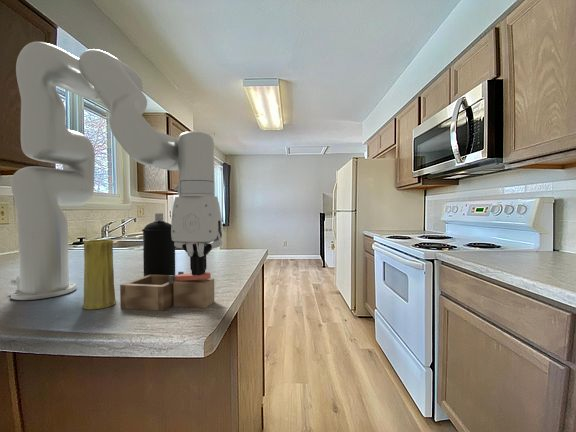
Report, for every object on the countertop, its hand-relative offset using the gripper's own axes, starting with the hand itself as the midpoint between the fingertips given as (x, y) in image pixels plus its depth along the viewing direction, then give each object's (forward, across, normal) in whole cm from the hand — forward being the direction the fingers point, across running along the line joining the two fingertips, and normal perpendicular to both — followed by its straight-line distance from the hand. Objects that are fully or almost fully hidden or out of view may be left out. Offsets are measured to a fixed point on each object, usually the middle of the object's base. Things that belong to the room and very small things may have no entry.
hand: (198, 273), depth 64 cm
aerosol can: (+7, -16, +10) cm, 21 cm away
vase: (+7, -21, -4) cm, 23 cm away
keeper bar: (+1, -2, 0) cm, 2 cm away
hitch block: (+7, -6, 0) cm, 9 cm away
